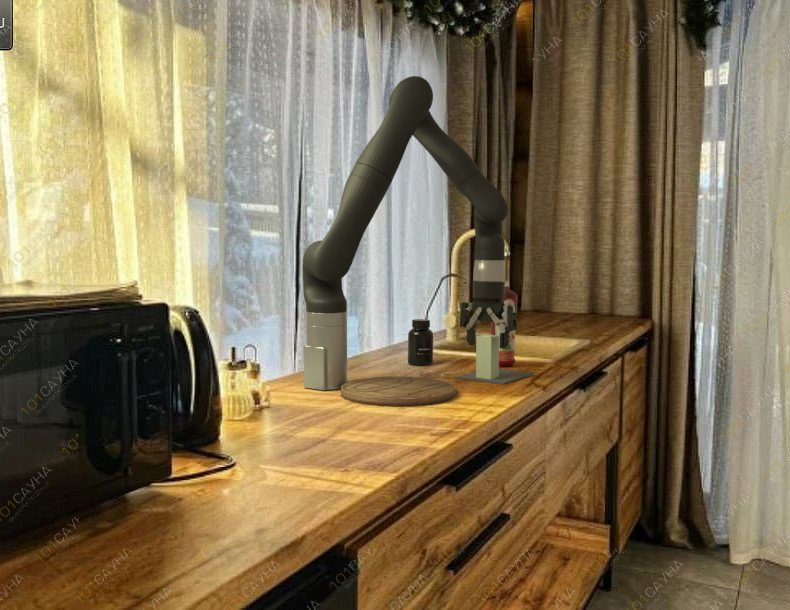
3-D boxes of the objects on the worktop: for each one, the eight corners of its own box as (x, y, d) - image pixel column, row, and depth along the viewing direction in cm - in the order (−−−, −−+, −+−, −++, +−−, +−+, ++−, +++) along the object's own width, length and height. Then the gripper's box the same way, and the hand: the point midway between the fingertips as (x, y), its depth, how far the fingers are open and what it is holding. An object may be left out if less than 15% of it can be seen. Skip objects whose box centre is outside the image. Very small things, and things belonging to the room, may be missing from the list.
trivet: (476, 392, 168) (476, 384, 168) (414, 414, 147) (414, 404, 147) (384, 380, 182) (384, 372, 182) (316, 398, 161) (316, 389, 161)
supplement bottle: (423, 367, 198) (423, 321, 197) (402, 364, 202) (402, 320, 201) (438, 363, 204) (438, 319, 203) (417, 361, 208) (417, 317, 207)
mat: (503, 384, 175) (503, 382, 175) (455, 378, 183) (455, 376, 183) (534, 374, 188) (534, 372, 188) (488, 369, 195) (488, 367, 195)
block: (490, 379, 179) (491, 336, 178) (476, 377, 182) (476, 335, 181) (498, 376, 182) (499, 335, 182) (484, 375, 185) (484, 333, 184)
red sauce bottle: (509, 362, 205) (511, 259, 203) (521, 367, 198) (522, 260, 196) (484, 363, 203) (485, 260, 201) (495, 368, 196) (496, 260, 194)
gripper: (455, 278, 181) (453, 345, 182) (508, 280, 172) (506, 351, 174) (471, 277, 187) (469, 342, 188) (523, 280, 178) (521, 347, 180)
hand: (487, 346), depth 181 cm, fingers open, 8 cm apart
